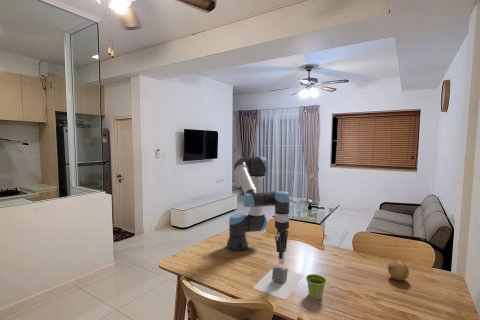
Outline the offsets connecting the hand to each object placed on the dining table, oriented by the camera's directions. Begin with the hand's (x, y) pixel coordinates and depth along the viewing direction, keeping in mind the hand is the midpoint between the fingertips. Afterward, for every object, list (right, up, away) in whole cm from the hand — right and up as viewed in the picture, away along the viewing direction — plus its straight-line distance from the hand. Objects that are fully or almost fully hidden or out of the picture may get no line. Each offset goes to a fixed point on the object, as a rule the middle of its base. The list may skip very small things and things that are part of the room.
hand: (281, 263), depth 135 cm
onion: (+64, -9, +1) cm, 64 cm away
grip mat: (-2, -9, -2) cm, 9 cm away
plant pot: (+14, -10, -14) cm, 22 cm away
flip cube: (0, -6, +1) cm, 6 cm away
